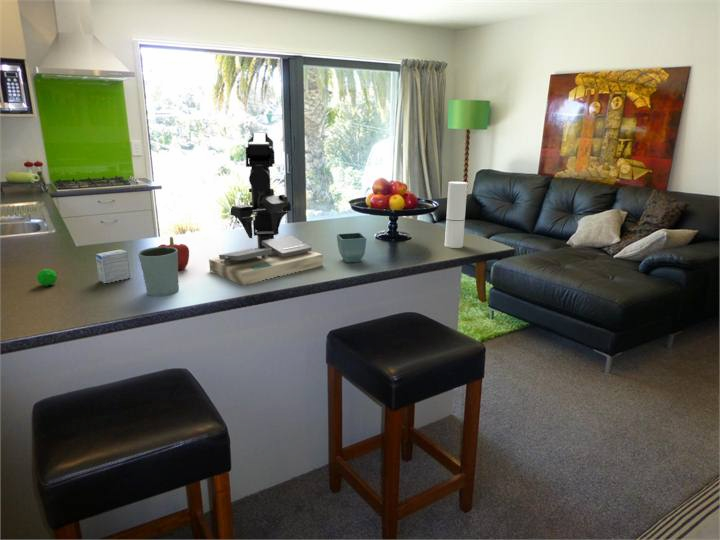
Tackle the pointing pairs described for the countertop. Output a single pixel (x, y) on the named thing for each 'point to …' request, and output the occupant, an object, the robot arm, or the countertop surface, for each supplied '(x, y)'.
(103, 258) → the medicine box
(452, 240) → the white tall block
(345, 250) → the flower pot
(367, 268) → the countertop surface
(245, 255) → the rocker left
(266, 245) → the rocker right
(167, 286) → the grey-green cup
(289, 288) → the countertop surface
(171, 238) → the vegetable
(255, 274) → the switch unit
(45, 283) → the polyhedron
